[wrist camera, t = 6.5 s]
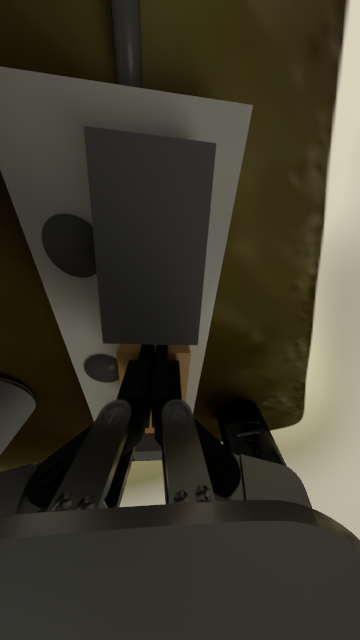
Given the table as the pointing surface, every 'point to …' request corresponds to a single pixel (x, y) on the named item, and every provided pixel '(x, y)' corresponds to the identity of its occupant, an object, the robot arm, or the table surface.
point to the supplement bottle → (247, 432)
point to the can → (13, 409)
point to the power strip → (74, 197)
